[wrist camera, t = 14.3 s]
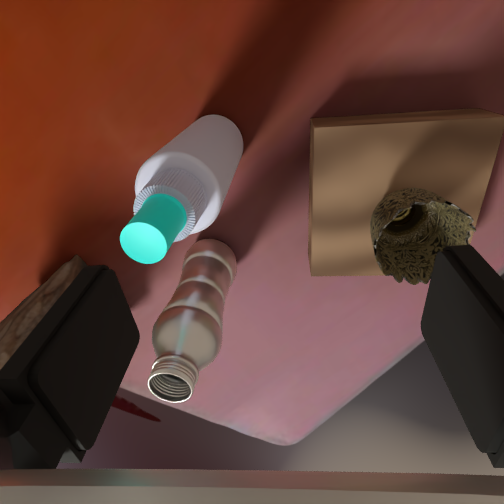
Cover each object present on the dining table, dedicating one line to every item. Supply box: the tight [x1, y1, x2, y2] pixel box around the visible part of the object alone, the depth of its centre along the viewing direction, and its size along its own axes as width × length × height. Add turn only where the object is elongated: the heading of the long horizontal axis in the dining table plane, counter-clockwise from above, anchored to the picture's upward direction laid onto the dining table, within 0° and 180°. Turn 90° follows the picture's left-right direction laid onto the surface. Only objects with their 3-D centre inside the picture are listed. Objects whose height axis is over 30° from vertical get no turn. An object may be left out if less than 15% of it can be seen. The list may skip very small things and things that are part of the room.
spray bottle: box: [120, 115, 243, 264], centre depth 27 cm, size 6×6×22 cm
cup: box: [370, 188, 476, 285], centre depth 30 cm, size 8×7×8 cm
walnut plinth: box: [308, 108, 504, 276], centre depth 35 cm, size 16×16×5 cm
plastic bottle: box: [148, 239, 237, 403], centre depth 35 cm, size 6×7×20 cm
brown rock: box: [0, 255, 88, 370], centre depth 41 cm, size 13×13×20 cm
